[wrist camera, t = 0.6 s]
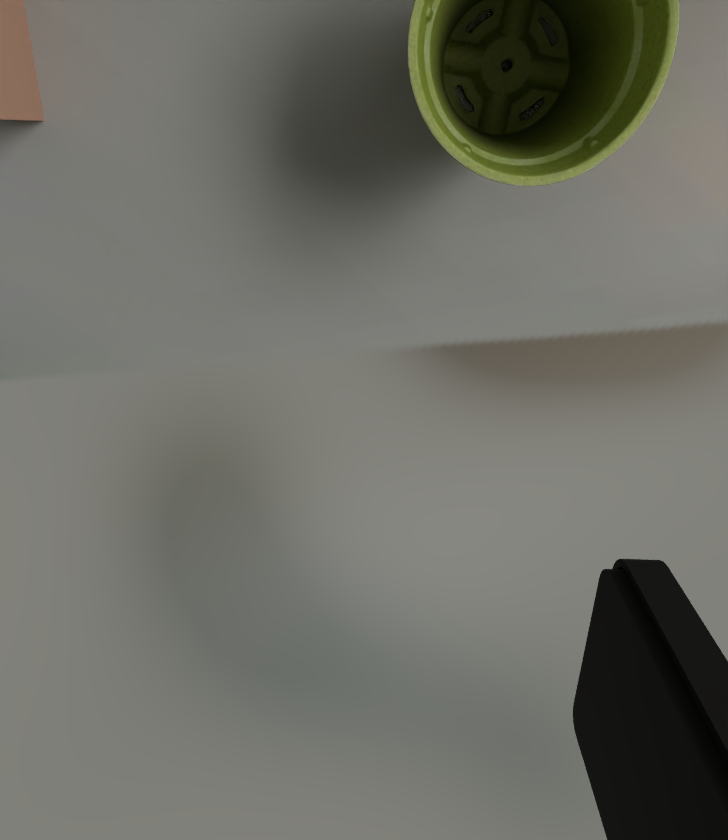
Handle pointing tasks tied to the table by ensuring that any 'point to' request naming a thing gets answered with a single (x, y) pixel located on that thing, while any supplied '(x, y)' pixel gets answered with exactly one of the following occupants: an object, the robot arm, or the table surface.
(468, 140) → the plant pot
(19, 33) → the tile
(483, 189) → the table surface
